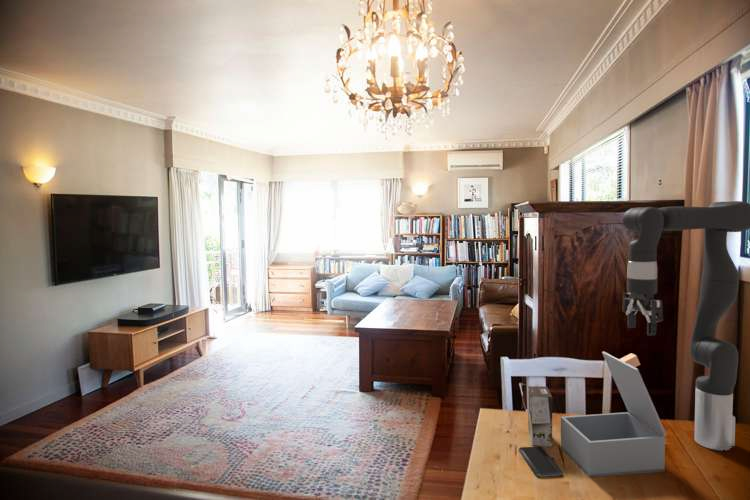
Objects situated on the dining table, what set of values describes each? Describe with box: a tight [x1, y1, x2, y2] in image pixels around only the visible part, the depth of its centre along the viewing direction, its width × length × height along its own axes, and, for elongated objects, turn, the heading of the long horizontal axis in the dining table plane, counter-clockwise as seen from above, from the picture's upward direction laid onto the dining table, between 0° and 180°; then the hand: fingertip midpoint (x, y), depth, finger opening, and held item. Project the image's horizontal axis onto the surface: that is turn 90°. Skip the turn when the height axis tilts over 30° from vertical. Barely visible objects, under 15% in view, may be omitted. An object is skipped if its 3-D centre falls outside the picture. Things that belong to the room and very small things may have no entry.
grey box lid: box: [601, 351, 667, 438], centre depth 131 cm, size 22×16×5 cm
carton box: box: [560, 411, 666, 478], centre depth 132 cm, size 22×16×10 cm
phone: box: [518, 445, 564, 479], centre depth 132 cm, size 8×1×15 cm
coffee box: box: [527, 385, 553, 447], centre depth 144 cm, size 9×6×16 cm
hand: (641, 331), depth 130 cm, fingers open, 8 cm apart
